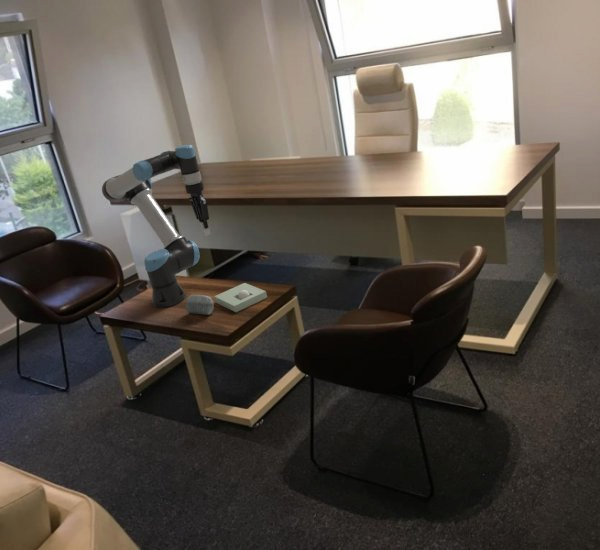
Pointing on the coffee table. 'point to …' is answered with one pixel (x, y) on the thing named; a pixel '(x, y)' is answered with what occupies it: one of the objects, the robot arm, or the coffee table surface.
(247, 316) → the coffee table surface
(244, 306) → the green board
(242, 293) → the ball
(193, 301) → the grey streaked egg
